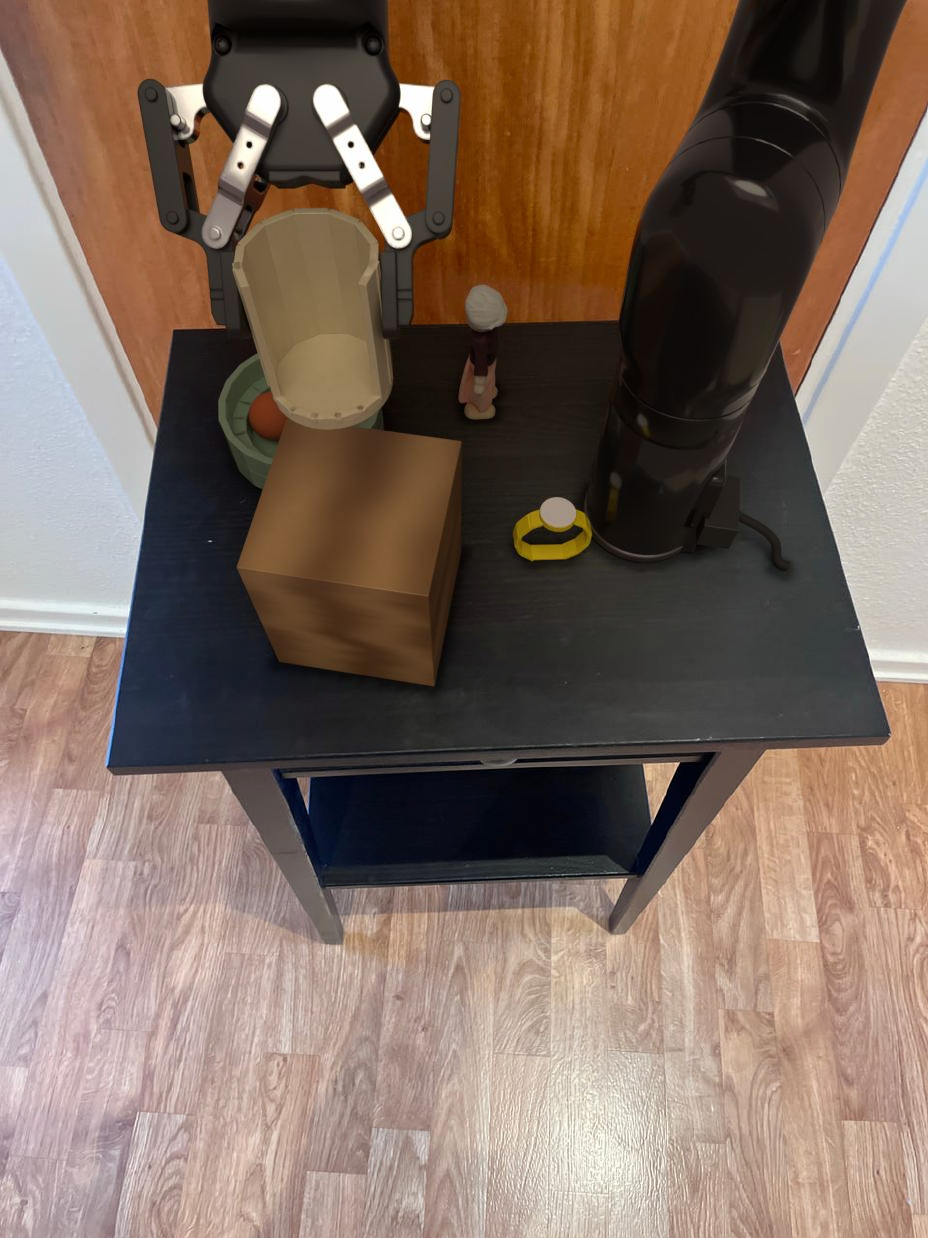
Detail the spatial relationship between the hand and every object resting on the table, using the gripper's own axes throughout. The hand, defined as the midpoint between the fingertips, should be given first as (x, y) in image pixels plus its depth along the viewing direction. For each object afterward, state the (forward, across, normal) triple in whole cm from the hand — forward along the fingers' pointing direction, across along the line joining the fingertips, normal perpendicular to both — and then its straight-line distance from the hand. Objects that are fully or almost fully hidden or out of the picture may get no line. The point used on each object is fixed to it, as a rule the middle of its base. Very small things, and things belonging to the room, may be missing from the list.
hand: (316, 337), depth 40 cm
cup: (+2, 0, +4) cm, 5 cm away
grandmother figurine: (+6, +9, +36) cm, 38 cm away
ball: (+6, -9, +32) cm, 34 cm away
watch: (+17, +14, +25) cm, 33 cm away
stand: (+20, 0, +22) cm, 30 cm away
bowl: (+8, -6, +34) cm, 35 cm away
